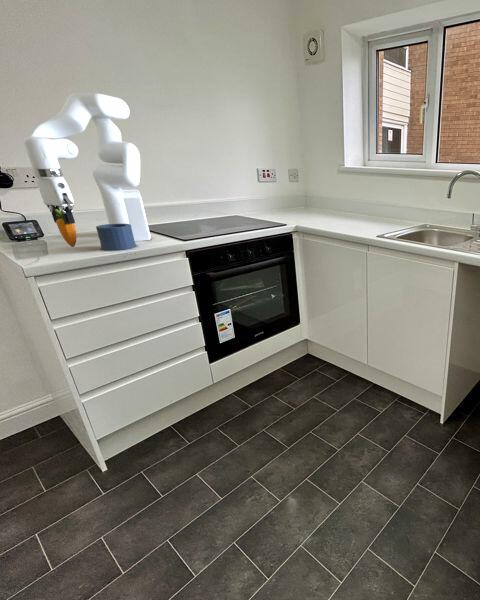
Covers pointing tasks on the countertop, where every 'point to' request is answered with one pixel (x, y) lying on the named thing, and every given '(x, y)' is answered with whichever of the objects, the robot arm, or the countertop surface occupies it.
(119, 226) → the blue faceted cup
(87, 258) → the countertop surface
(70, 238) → the carrot
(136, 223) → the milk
